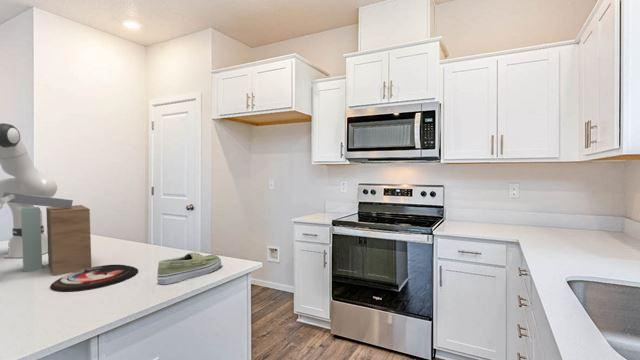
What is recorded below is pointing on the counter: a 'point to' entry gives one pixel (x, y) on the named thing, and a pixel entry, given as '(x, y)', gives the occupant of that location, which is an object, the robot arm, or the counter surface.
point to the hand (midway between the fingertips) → (13, 195)
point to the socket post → (31, 239)
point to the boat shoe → (186, 267)
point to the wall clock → (94, 278)
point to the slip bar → (39, 200)
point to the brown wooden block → (68, 239)
